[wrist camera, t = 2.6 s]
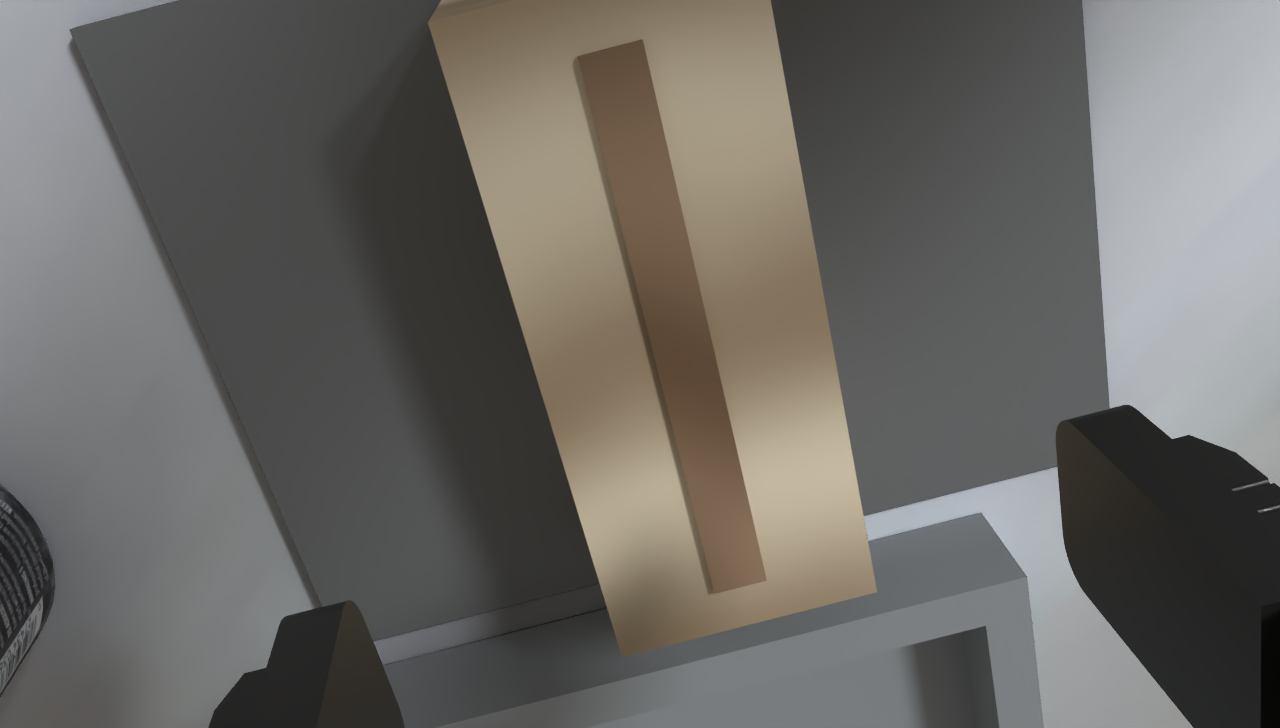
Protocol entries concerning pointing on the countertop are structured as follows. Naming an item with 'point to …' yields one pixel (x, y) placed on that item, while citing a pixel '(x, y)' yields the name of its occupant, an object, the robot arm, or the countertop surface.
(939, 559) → the slate tray
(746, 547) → the wooden block
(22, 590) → the pill bottle
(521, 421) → the rubber mat
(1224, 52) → the countertop surface
